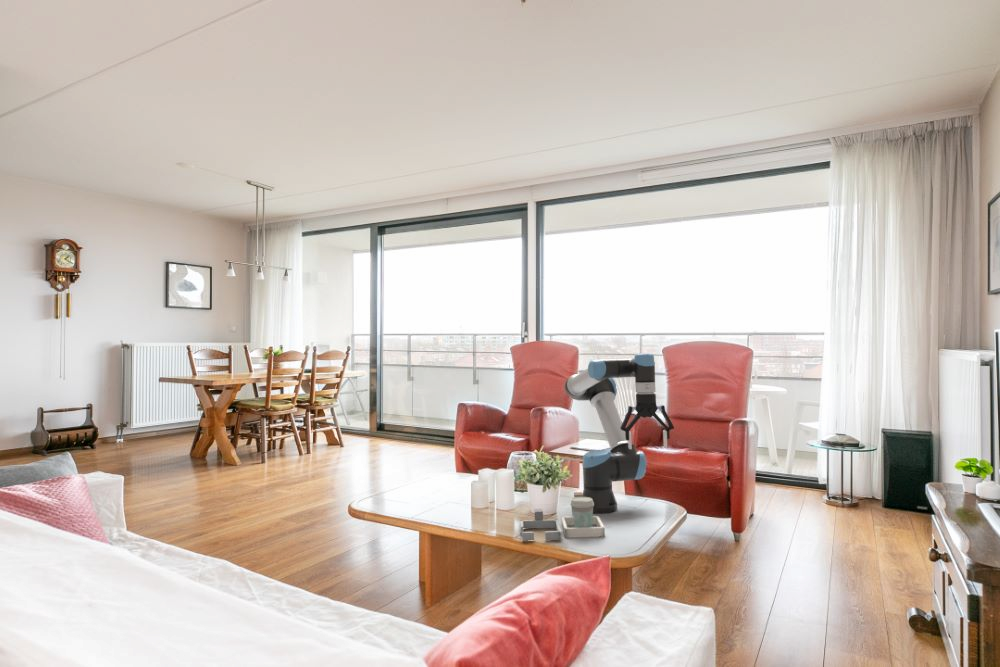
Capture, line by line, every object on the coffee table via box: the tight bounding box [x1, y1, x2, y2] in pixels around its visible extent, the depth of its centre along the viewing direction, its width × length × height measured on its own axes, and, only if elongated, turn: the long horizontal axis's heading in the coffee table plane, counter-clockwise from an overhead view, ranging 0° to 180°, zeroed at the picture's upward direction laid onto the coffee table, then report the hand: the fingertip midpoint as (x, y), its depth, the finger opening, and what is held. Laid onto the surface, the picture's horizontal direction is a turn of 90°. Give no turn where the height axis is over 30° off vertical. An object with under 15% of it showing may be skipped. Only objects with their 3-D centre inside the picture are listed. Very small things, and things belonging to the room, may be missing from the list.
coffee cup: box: [569, 497, 594, 528], centre depth 215 cm, size 9×8×12 cm
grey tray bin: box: [560, 491, 606, 538], centre depth 220 cm, size 19×14×11 cm
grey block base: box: [519, 508, 563, 542], centre depth 216 cm, size 19×14×6 cm
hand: (647, 448), depth 231 cm, fingers open, 13 cm apart
